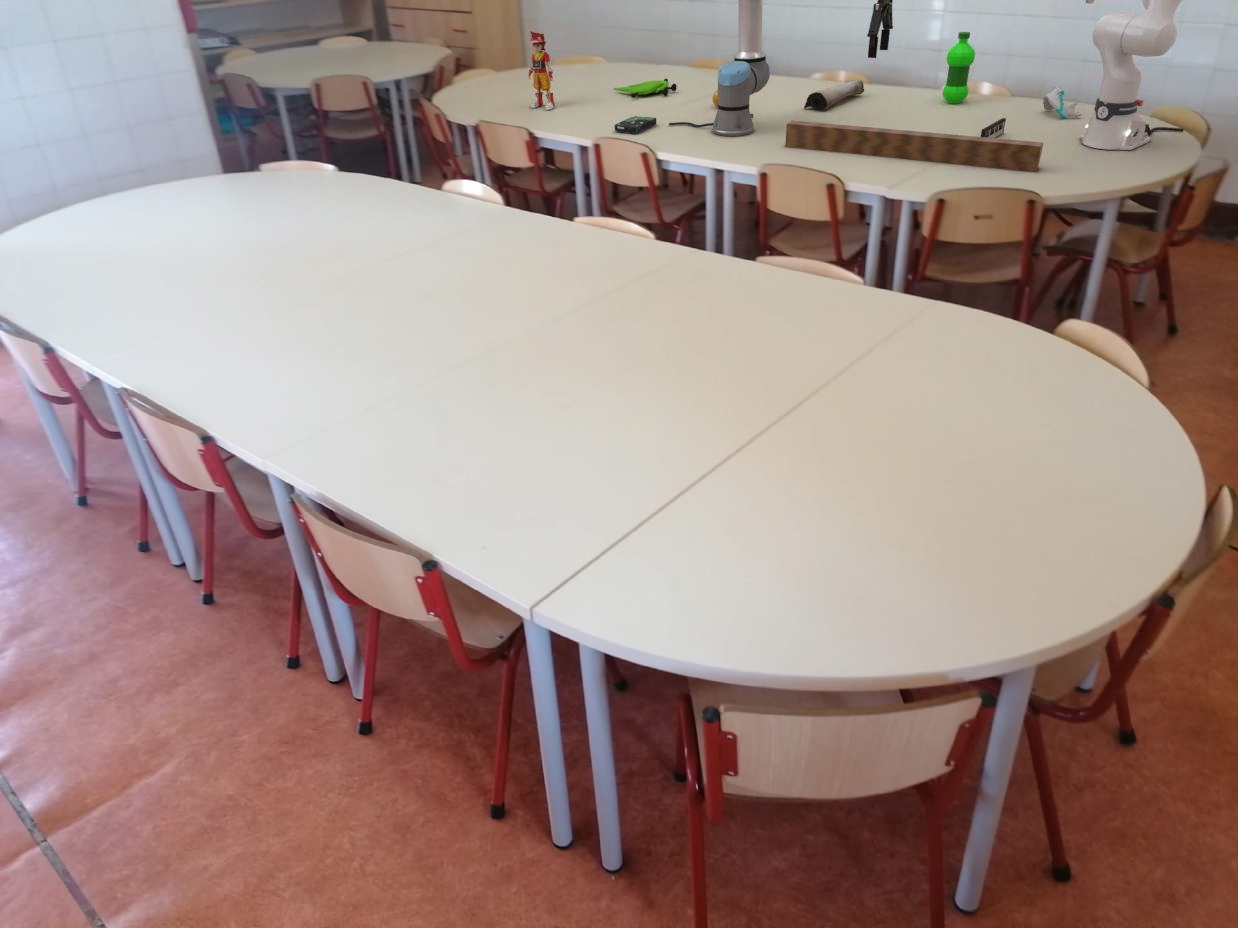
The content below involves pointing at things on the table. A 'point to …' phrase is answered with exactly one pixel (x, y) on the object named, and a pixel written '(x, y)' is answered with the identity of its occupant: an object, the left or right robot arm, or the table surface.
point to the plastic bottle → (958, 69)
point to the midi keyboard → (994, 129)
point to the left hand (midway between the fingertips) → (877, 54)
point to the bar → (915, 145)
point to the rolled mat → (833, 94)
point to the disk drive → (635, 124)
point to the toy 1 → (541, 71)
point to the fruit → (715, 98)
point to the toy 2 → (648, 88)
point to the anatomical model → (1059, 104)
